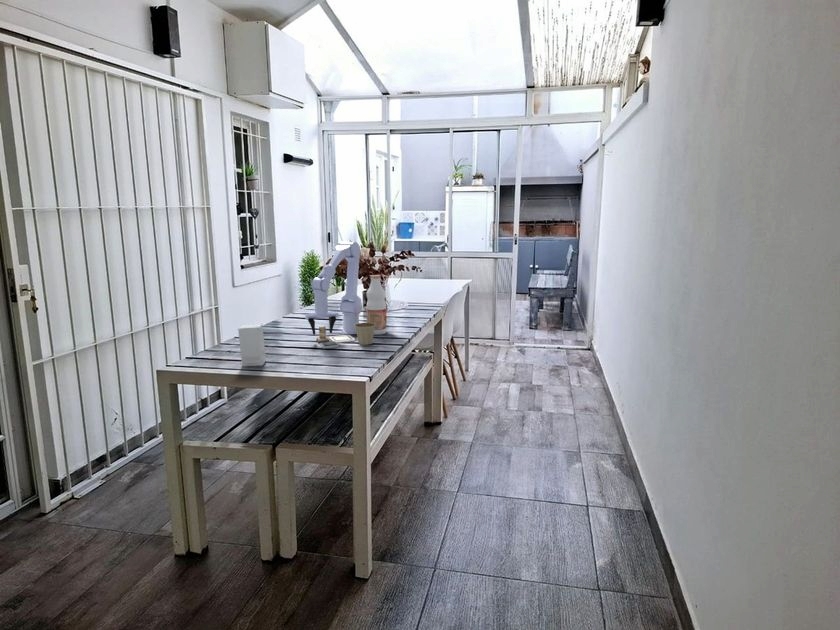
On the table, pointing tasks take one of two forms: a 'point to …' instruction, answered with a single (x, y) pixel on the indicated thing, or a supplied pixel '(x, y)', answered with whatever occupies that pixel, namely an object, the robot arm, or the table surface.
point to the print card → (342, 338)
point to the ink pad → (329, 344)
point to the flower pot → (365, 333)
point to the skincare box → (252, 345)
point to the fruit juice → (376, 305)
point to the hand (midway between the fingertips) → (322, 333)
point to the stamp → (322, 335)
